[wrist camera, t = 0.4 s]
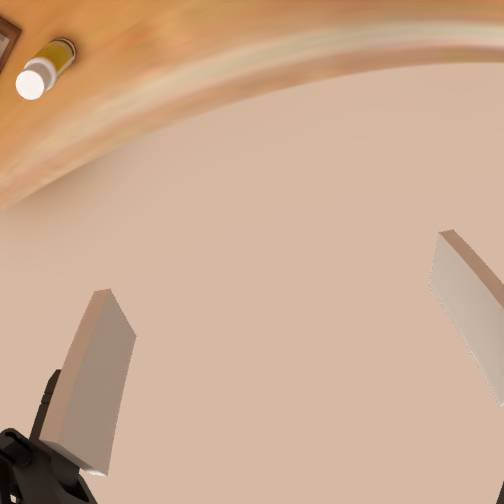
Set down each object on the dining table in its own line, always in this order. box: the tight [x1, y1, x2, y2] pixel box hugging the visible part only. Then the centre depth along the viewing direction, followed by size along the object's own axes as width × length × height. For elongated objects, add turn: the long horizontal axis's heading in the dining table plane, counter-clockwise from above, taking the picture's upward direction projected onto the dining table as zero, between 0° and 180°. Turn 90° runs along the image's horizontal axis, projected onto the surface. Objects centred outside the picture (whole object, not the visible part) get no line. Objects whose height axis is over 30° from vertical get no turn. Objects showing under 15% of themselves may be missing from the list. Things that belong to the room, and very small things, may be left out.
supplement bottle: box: [16, 38, 75, 100], centre depth 26 cm, size 5×5×8 cm
